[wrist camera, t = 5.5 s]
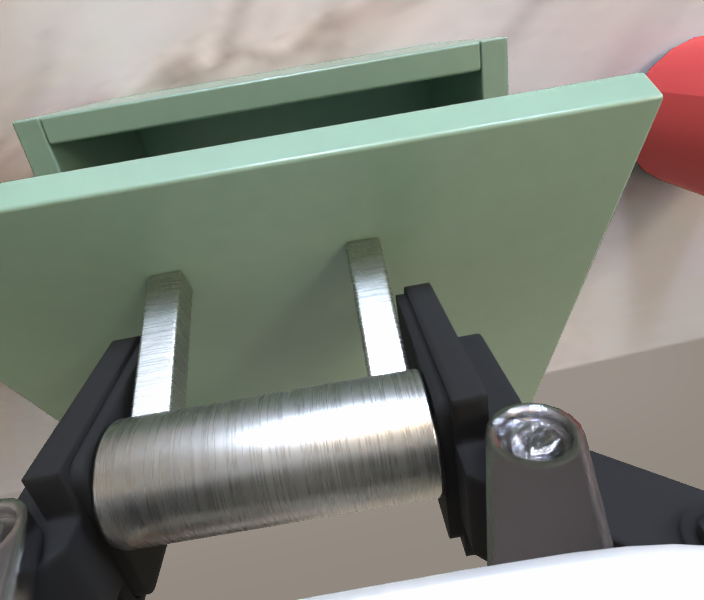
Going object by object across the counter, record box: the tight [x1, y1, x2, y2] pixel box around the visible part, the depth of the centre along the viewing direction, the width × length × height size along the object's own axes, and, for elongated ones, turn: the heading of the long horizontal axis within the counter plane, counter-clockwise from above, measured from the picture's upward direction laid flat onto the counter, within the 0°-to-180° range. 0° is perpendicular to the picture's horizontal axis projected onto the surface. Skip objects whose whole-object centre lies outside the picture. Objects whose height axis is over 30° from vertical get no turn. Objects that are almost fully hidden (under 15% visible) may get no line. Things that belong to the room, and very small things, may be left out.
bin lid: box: [0, 73, 663, 551], centre depth 13 cm, size 14×15×6 cm
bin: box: [13, 37, 508, 177], centre depth 22 cm, size 14×15×9 cm
